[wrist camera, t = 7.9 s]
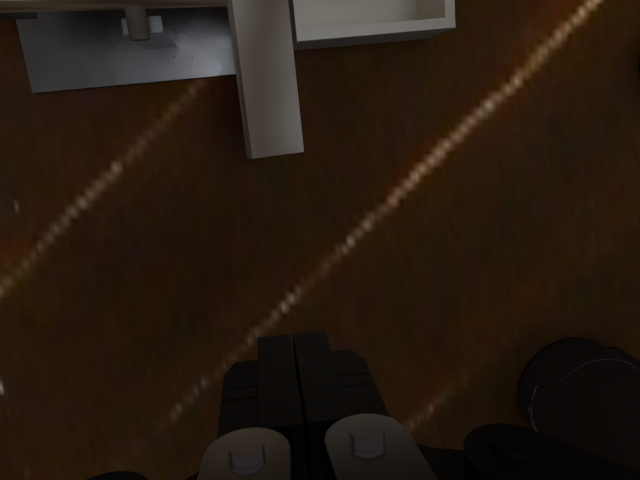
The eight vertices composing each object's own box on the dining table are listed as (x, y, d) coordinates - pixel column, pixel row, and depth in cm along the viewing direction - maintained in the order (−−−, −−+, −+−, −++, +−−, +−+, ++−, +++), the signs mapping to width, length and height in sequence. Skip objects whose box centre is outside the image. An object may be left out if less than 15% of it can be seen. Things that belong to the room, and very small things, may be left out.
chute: (256, -130, 30) (284, -169, 26) (287, 148, 34) (315, 150, 30) (-87, -154, 24) (-119, -209, 20) (-2, 186, 28) (-15, 196, 24)
